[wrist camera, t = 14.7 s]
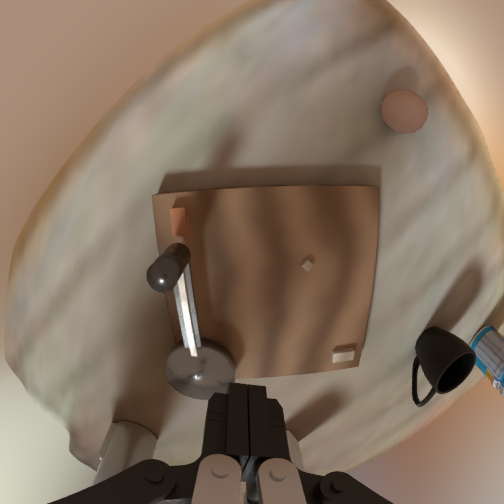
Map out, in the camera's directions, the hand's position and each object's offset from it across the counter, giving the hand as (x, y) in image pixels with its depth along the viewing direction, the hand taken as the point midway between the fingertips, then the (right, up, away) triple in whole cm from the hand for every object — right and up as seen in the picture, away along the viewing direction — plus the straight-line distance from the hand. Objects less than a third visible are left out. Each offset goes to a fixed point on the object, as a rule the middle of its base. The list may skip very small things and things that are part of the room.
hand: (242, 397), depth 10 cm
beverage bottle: (+47, -12, +28) cm, 56 cm away
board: (+3, +1, +23) cm, 23 cm away
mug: (+29, -10, +27) cm, 41 cm away
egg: (+17, +23, +17) cm, 33 cm away
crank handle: (-7, -3, +22) cm, 23 cm away
